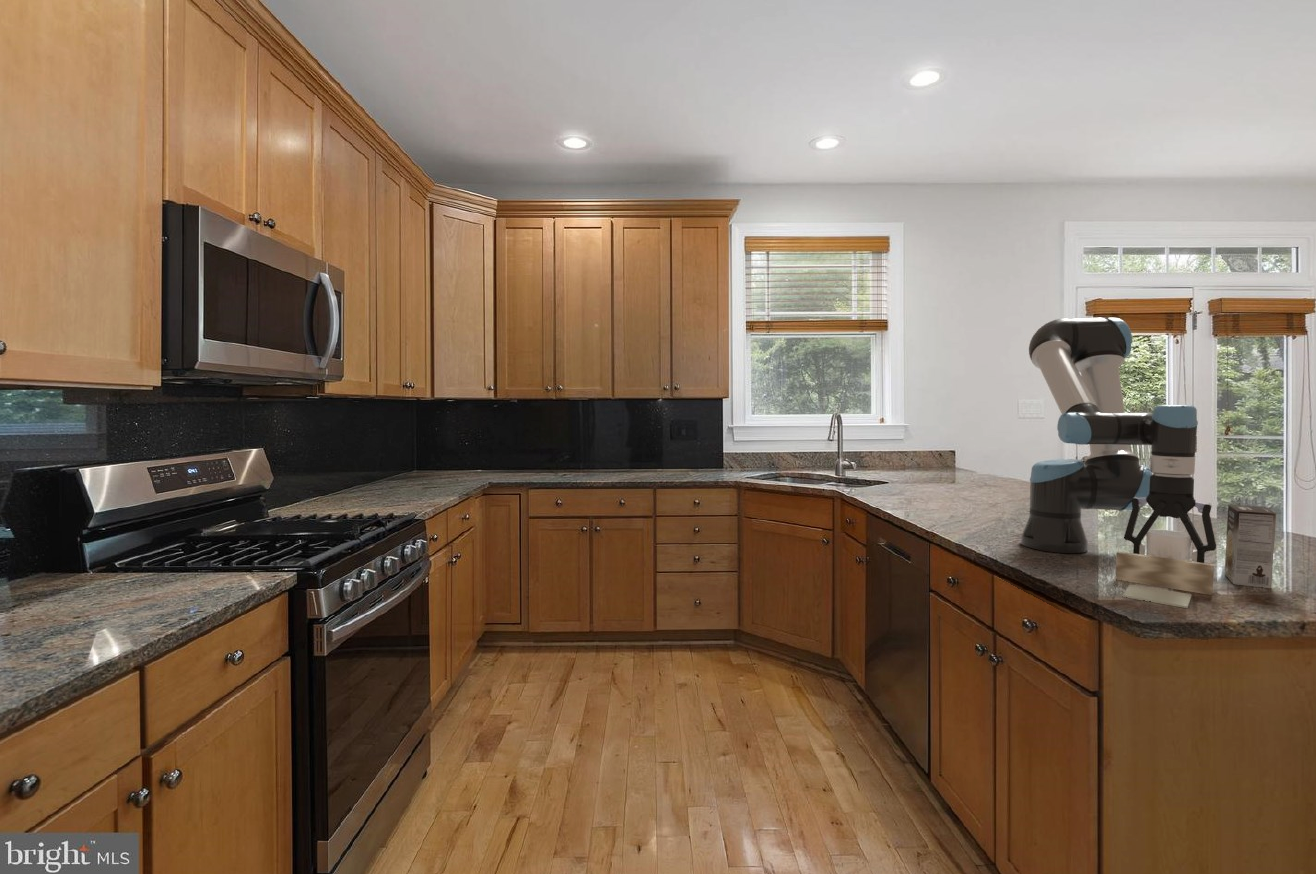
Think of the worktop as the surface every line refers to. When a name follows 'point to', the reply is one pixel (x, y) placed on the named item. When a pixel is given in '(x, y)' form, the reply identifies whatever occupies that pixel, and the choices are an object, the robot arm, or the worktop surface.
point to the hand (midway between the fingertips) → (1166, 576)
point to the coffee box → (1250, 545)
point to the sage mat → (1158, 595)
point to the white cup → (1168, 544)
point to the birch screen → (1165, 572)
